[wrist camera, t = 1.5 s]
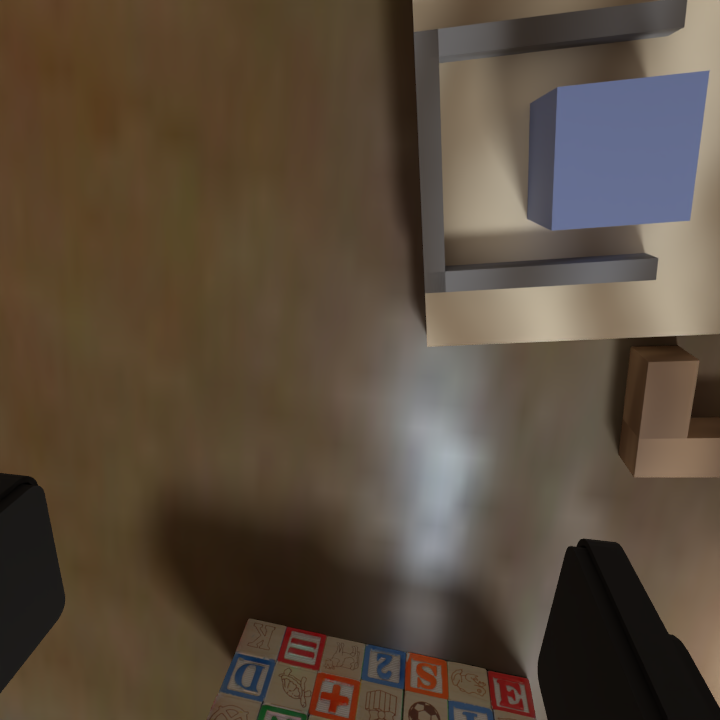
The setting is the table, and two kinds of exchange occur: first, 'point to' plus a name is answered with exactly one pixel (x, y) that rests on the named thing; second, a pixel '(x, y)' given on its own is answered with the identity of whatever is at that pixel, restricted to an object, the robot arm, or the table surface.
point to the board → (510, 174)
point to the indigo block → (616, 152)
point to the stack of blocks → (357, 682)
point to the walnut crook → (666, 417)
